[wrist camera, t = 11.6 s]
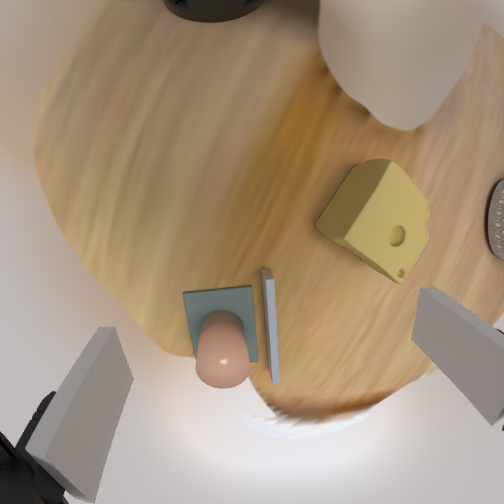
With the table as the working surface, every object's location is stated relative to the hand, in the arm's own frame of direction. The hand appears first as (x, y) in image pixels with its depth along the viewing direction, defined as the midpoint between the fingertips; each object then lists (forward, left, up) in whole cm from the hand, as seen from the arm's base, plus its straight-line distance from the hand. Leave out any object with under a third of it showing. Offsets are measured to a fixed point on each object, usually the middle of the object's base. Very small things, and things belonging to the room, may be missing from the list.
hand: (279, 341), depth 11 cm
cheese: (-1, +16, -26) cm, 31 cm away
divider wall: (+13, +3, -26) cm, 29 cm away
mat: (+13, -4, -26) cm, 29 cm away
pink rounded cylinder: (+13, -4, -25) cm, 29 cm away
